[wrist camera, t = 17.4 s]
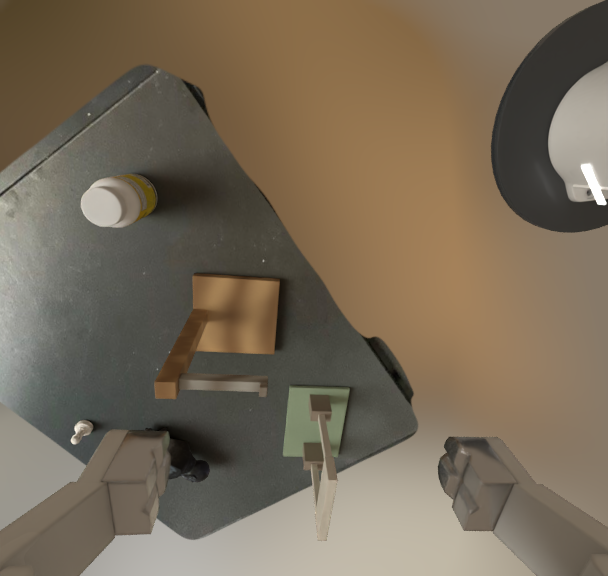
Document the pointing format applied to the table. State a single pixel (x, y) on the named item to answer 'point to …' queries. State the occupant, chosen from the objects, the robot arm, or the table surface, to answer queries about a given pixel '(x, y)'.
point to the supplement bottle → (119, 200)
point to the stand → (223, 332)
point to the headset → (321, 464)
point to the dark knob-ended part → (185, 461)
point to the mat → (308, 431)
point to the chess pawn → (81, 430)
